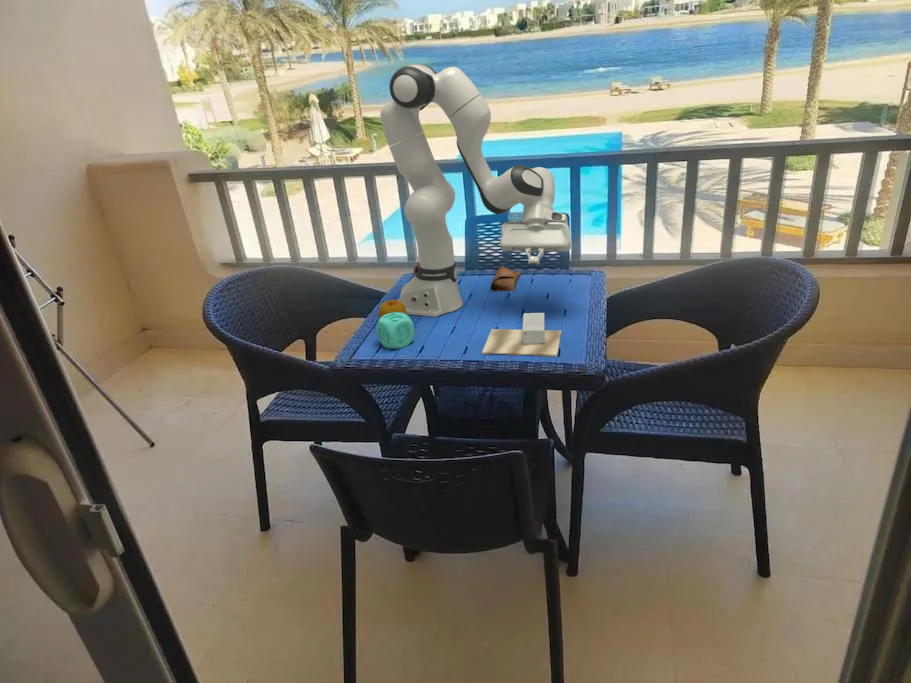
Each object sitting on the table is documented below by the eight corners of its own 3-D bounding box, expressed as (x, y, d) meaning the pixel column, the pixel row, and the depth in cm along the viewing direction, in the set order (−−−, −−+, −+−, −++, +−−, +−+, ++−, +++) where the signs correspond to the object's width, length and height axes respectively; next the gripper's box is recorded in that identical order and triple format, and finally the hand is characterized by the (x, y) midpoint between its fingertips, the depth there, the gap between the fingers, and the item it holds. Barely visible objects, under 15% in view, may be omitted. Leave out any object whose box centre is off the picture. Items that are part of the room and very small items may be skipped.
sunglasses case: (515, 291, 205) (505, 274, 203) (498, 301, 208) (487, 285, 206) (521, 273, 221) (511, 257, 219) (505, 282, 224) (495, 267, 222)
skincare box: (523, 326, 178) (522, 344, 167) (523, 312, 176) (521, 330, 165) (545, 326, 177) (544, 344, 166) (544, 312, 175) (544, 329, 164)
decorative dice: (400, 334, 181) (397, 309, 178) (416, 342, 175) (413, 316, 172) (377, 343, 177) (373, 318, 173) (393, 351, 171) (390, 325, 168)
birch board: (482, 354, 165) (481, 352, 165) (491, 330, 178) (491, 329, 178) (557, 356, 160) (557, 354, 160) (561, 332, 173) (561, 330, 173)
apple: (388, 321, 191) (385, 295, 187) (413, 323, 188) (410, 296, 184) (375, 332, 184) (371, 305, 180) (401, 335, 181) (397, 307, 177)
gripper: (500, 215, 178) (496, 258, 174) (571, 214, 173) (569, 258, 169) (503, 226, 184) (499, 268, 180) (572, 226, 179) (569, 268, 175)
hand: (533, 263), depth 174 cm, fingers closed
